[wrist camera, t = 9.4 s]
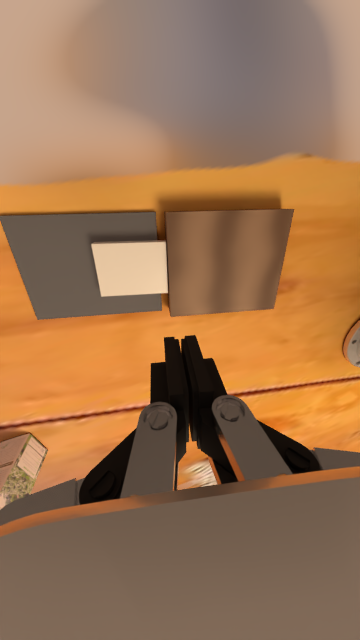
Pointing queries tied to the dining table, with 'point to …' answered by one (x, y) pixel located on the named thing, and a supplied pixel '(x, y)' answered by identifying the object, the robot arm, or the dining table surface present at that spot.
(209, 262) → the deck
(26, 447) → the syrup box
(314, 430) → the dining table surface
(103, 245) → the tile
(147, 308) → the mat
